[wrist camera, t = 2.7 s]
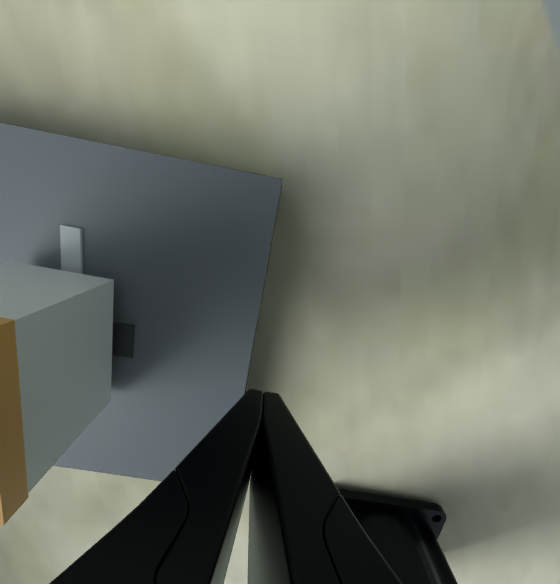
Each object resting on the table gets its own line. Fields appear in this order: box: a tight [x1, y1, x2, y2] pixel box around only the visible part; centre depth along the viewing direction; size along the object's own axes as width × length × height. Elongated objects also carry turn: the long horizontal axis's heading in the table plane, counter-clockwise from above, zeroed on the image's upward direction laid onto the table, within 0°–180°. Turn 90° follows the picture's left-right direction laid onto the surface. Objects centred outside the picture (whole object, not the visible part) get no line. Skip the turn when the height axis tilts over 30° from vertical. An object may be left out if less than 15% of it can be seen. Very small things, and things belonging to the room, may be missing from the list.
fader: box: [0, 262, 114, 525], centre depth 7 cm, size 3×4×4 cm
